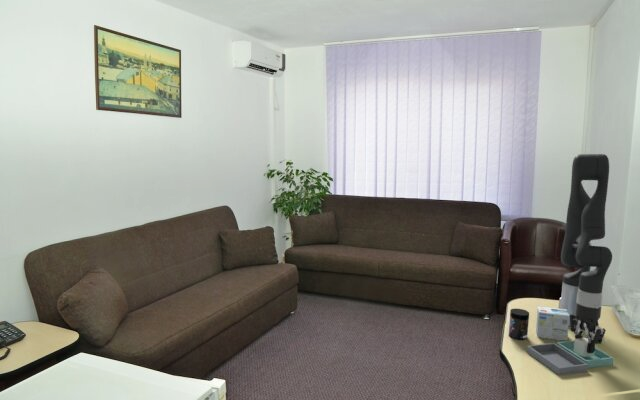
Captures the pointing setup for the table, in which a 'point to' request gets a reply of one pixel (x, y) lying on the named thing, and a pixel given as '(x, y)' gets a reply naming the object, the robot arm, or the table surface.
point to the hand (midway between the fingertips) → (584, 349)
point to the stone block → (582, 347)
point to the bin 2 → (592, 361)
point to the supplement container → (518, 324)
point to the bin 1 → (557, 359)
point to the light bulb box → (552, 323)
